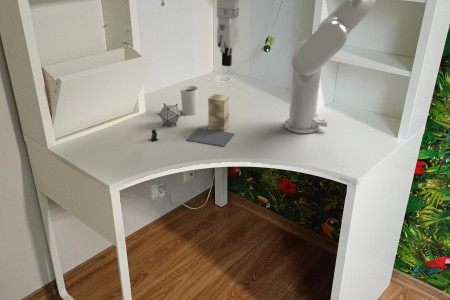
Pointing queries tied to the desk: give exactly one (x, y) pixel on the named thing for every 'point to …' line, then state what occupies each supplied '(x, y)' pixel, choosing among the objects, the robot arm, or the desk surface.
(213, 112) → the maple block
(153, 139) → the sculpture
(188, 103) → the white and black cylinder
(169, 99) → the desk surface
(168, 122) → the game die
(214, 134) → the slate mat
